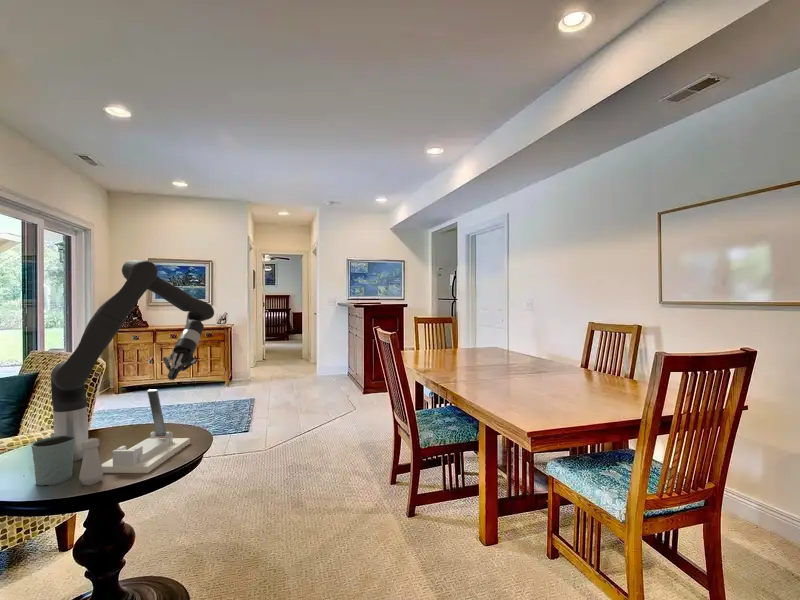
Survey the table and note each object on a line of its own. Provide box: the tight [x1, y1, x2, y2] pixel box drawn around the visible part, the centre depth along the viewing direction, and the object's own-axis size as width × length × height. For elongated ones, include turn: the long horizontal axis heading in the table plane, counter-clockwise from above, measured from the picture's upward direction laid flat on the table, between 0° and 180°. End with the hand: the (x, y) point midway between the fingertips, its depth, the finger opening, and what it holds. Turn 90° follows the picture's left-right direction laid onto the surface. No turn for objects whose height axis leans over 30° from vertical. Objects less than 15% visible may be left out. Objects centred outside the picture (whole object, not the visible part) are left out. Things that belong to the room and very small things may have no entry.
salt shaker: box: [78, 437, 104, 486], centre depth 124 cm, size 6×6×13 cm
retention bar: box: [146, 389, 167, 437], centre depth 149 cm, size 3×19×1 cm
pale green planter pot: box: [30, 435, 75, 486], centre depth 127 cm, size 10×10×12 cm
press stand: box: [101, 431, 191, 474], centre depth 143 cm, size 16×25×7 cm, turn 179°
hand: (170, 378), depth 158 cm, fingers closed
